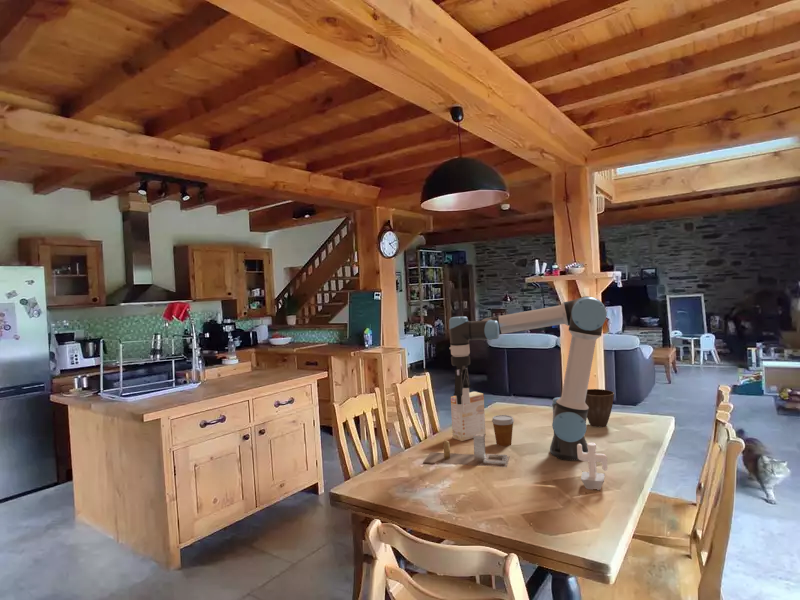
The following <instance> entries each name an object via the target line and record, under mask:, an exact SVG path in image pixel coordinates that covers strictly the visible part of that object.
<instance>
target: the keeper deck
mask: <svg viewBox="0 0 800 600" xmlns="http://www.w3.org/2000/svg"><path fill="white" fill-rule="evenodd" d="M450 445H451V444H450V441H449V440H447V439H446V440H444V441H443V452H435V451H434V452H433V451H430V452H429V453H428V455H427V456H426V458H425V459H424V460H423V463H422V464H425V465H435V464H447V465H464V466H465V465H466V466H481V467H494V468H495V467H496V468H497V467H499V468H508V464H509V461H510V456H509V455H507V460H506V464H505V465H493V464H484V462H483V461H475V460H474V453H473V454H470V453H455V452H454V453H452V452H451V449H450ZM489 460H499V461H502V459H496V458H489Z"/></svg>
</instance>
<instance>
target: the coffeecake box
mask: <svg viewBox="0 0 800 600" xmlns="http://www.w3.org/2000/svg"><path fill="white" fill-rule="evenodd" d="M462 395H463V393H462ZM469 395H470V404H464V412H457V407H456V396H454V395H453V396H450V411H451V412H450V415H451V430H452V431H451V433H452V439H454V440H458V441H460V442H463V441H467V440H472V439H473V436H474V434H485V435H486V418H485V416H486V415H485V397H484V396H485V395H484V393H482V392H478V391H471V392H470V391H469Z"/></svg>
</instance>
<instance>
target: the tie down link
mask: <svg viewBox="0 0 800 600" xmlns="http://www.w3.org/2000/svg"><path fill="white" fill-rule="evenodd" d="M485 438H486V437H485V434H474V436H473V438H472V439H473V454H474V460H475V461H483V462H484V464H493V465H505V464H506V460H507V456H508V455H507V454H499V453H497V454H496V453H495V454H493V453H486V439H485ZM489 458H496V459H502V461H499V460H489Z"/></svg>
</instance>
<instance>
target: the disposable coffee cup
mask: <svg viewBox="0 0 800 600" xmlns="http://www.w3.org/2000/svg"><path fill="white" fill-rule="evenodd" d="M491 422H492V424H493V425H492V426H493V431H494V437H495V443H496V444H495V445H497V446H499V447H508V446H512V441H513V440H512V438H513V428H514V422H515V420H514V417H513V416H511V415H509V414H508V415H506V414H498V415H494V416H492V419H491Z"/></svg>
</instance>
